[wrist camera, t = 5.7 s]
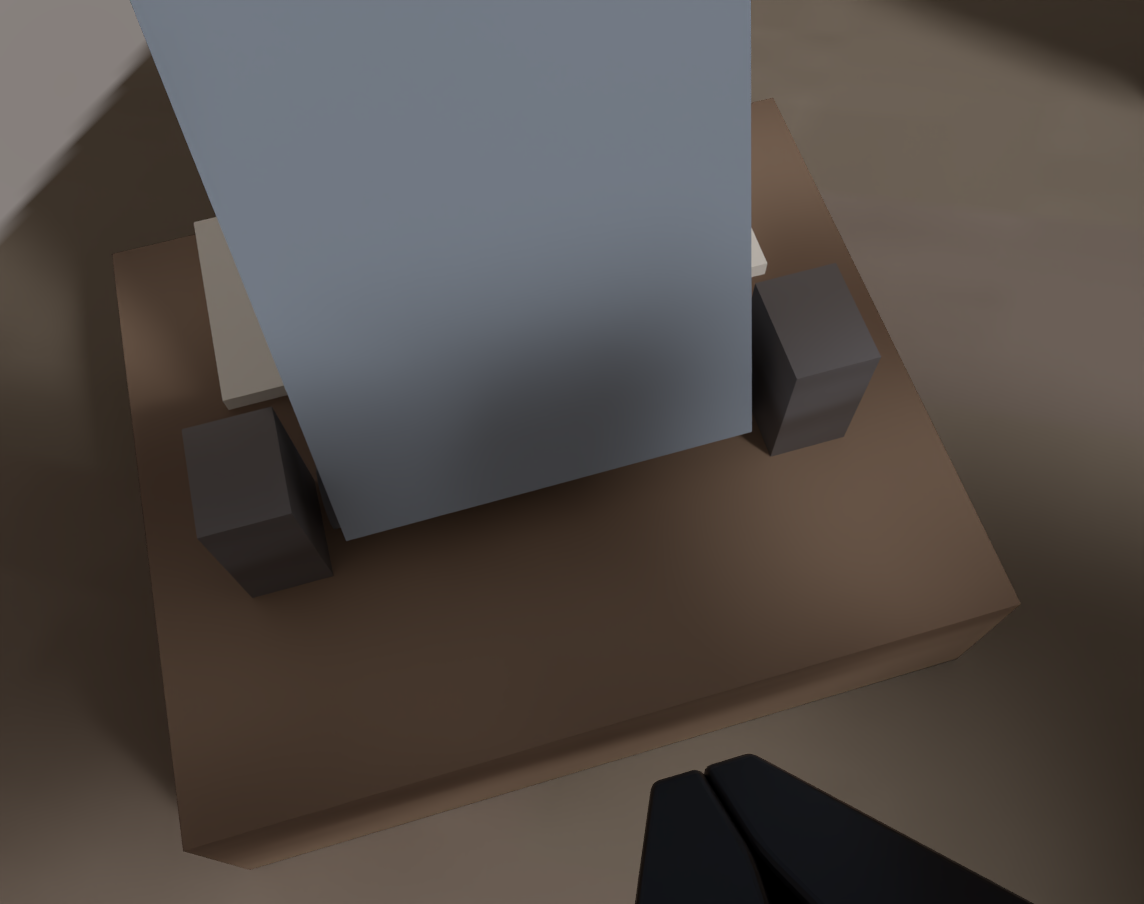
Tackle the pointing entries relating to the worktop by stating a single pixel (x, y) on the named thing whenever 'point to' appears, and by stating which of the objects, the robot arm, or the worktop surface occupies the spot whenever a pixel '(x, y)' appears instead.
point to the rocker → (479, 230)
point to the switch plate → (238, 330)
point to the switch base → (539, 568)
